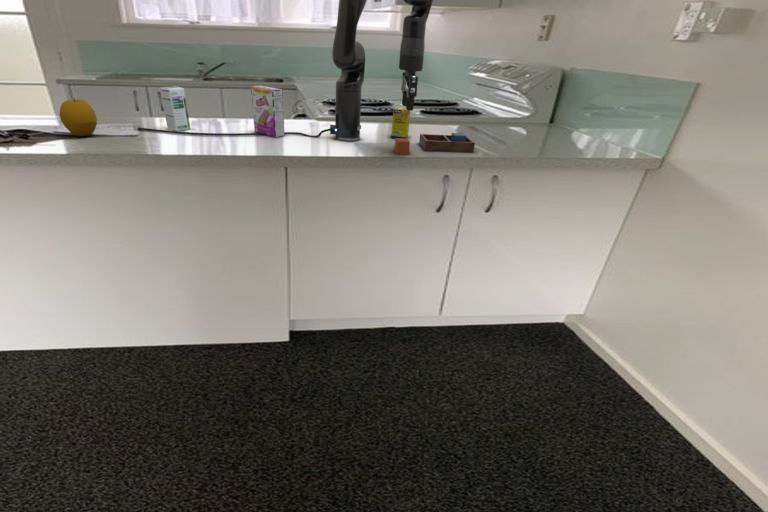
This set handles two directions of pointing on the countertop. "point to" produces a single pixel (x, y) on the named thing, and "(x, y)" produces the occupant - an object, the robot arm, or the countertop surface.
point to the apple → (78, 117)
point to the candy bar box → (268, 110)
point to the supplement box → (400, 122)
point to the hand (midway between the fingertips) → (407, 107)
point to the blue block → (458, 137)
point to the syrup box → (175, 108)
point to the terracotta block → (401, 146)
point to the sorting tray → (445, 143)
